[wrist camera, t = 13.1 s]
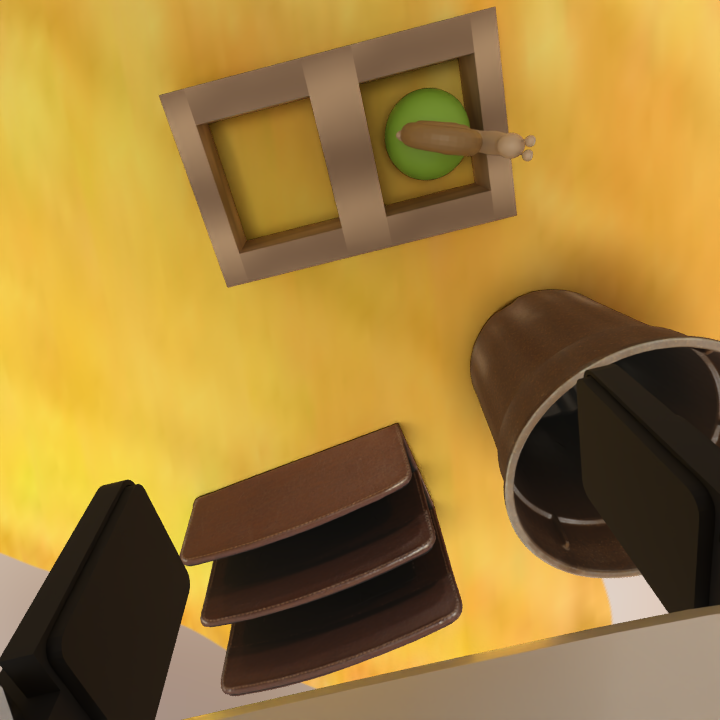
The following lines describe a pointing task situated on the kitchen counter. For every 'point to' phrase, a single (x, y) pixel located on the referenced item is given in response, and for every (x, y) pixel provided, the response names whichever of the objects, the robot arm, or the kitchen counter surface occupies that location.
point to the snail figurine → (441, 136)
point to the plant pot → (575, 412)
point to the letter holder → (322, 563)
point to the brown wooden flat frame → (347, 147)
